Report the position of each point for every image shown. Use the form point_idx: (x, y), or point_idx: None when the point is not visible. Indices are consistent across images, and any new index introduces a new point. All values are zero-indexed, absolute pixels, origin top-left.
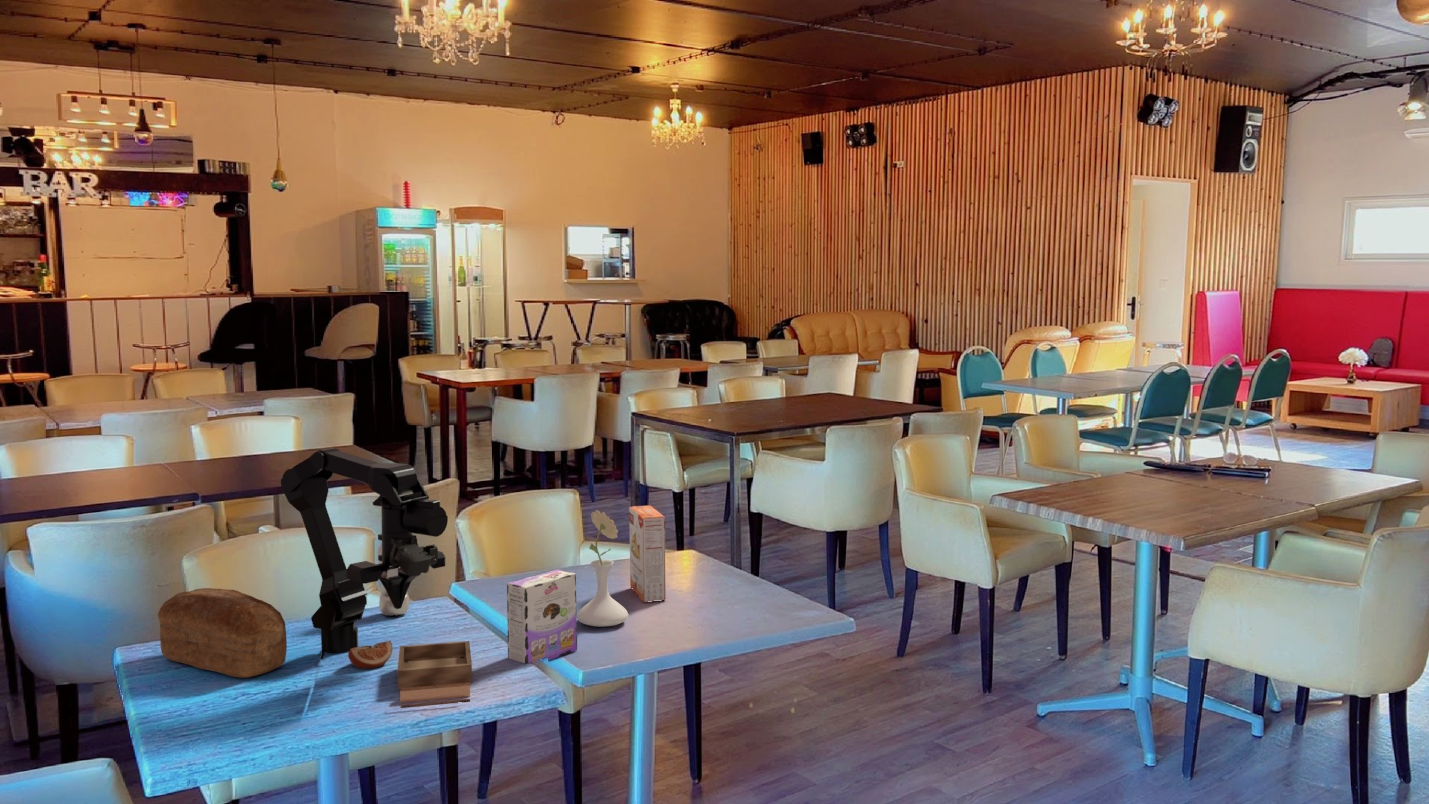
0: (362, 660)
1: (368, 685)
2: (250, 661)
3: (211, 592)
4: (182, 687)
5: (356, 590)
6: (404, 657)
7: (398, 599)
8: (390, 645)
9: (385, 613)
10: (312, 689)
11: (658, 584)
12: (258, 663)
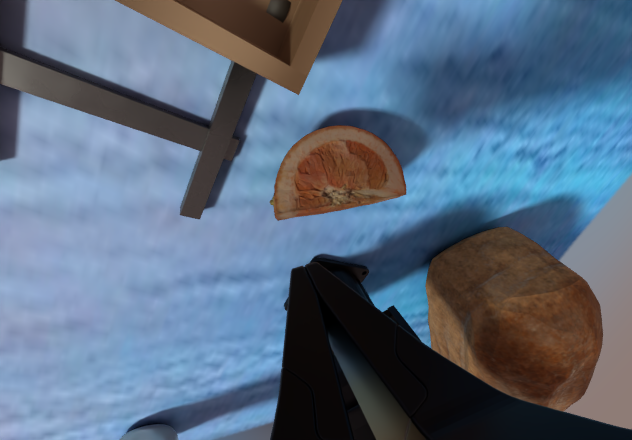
0: (380, 145)
1: (393, 30)
2: (523, 240)
3: None
4: (543, 237)
5: (369, 434)
6: (278, 57)
7: (338, 302)
8: (281, 192)
9: (170, 428)
10: (480, 107)
11: None
12: (502, 240)
